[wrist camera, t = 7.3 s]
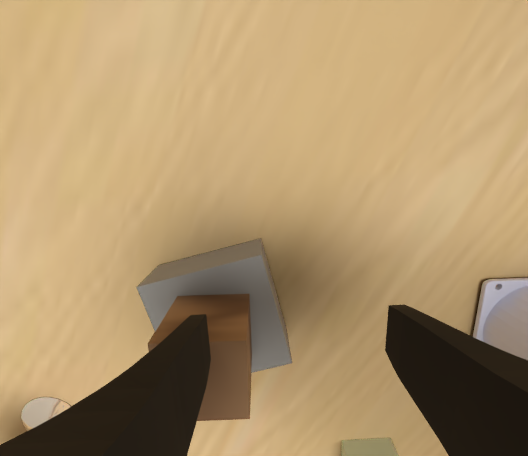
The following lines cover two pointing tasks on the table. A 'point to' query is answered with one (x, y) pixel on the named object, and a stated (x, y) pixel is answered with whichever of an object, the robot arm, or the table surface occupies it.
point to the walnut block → (219, 350)
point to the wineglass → (41, 411)
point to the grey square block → (225, 282)
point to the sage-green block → (368, 447)
